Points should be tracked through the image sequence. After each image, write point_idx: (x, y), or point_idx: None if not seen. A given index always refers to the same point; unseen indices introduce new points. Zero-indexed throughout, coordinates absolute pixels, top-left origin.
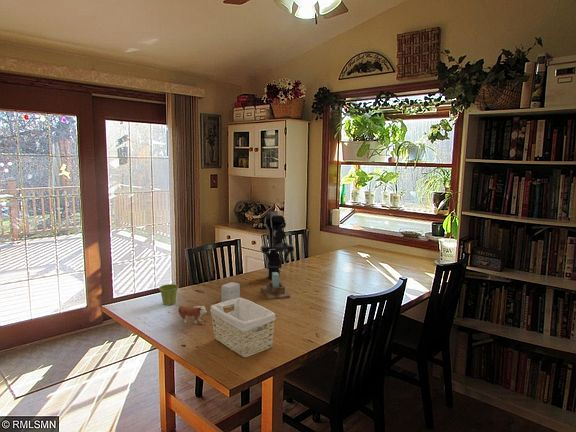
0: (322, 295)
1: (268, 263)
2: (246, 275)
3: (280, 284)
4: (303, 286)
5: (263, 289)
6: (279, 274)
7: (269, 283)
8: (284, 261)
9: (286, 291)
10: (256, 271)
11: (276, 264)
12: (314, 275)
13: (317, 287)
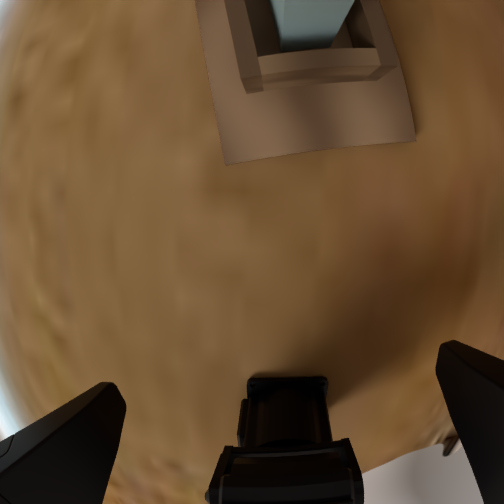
0: (13, 39)
1: (352, 472)
2: (435, 419)
3: (246, 11)
4: (68, 188)
5: (401, 69)
6: (241, 411)
7: (367, 49)
8: (111, 405)
9: (200, 10)
10: (364, 471)
11: (265, 465)
12: (52, 389)
13: (7, 174)
